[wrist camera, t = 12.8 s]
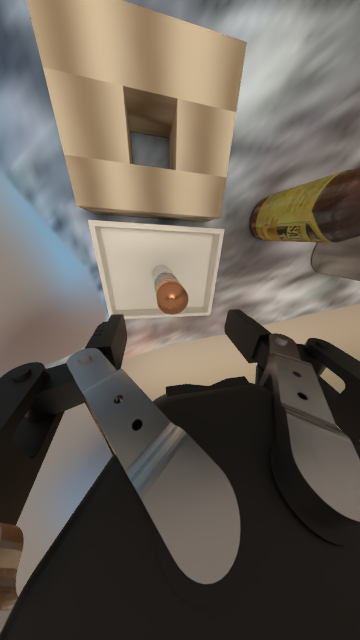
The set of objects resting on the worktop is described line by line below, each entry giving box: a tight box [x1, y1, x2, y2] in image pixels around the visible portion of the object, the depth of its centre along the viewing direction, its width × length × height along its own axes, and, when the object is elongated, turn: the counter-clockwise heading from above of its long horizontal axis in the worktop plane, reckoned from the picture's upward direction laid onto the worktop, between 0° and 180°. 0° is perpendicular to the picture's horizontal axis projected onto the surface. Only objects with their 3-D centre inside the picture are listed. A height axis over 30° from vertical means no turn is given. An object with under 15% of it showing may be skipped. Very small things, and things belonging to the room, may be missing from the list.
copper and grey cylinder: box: [153, 265, 188, 315], centre depth 20 cm, size 3×3×12 cm
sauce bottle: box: [251, 168, 360, 243], centre depth 16 cm, size 6×6×20 cm
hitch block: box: [27, 0, 247, 222], centre depth 16 cm, size 16×12×6 cm
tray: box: [88, 220, 225, 319], centre depth 24 cm, size 18×14×4 cm
